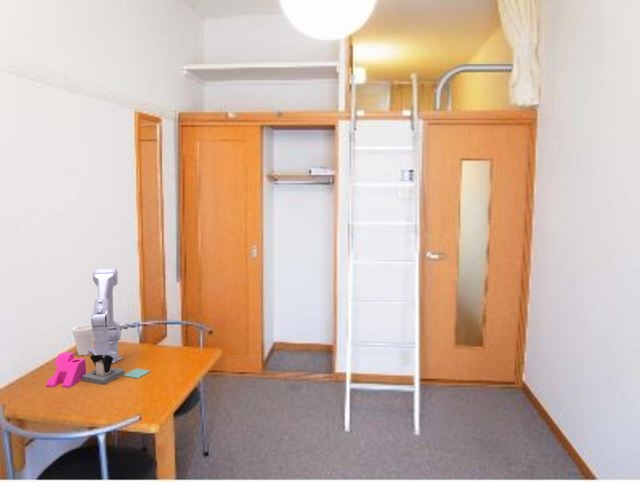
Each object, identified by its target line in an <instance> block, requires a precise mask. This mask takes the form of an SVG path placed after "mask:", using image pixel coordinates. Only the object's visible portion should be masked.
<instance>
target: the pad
mask: <svg viewBox="0 0 640 483" xmlns="http://www.w3.org/2000/svg"><path fill="white" fill-rule="evenodd" d="M150 373H152V372H151V370H148V369H147V370H146V369H141V368H135V369H133V370H130V371H129V372H127V373H125V374H124V375H122V376H123V377H127V378H132V379H137V380H139V379H140V378H143V377H144V376H146V375H148V374H150Z"/></svg>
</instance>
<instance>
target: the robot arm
mask: <svg viewBox="0 0 640 483" xmlns="http://www.w3.org/2000/svg"><path fill="white" fill-rule="evenodd" d="M92 280H93V282H94V285H96V286H97V298H96V299H95V300H94V304H93V306H94V307H93V314H92V315H91V317H90V323H91V324H90V325H92V331H93V332H94V339H93V348H89V349H87V350H88V354H89V355H90V356H89V359H90V360H91V362H92V363H93V365H94V367H95V368H96V363H95V362H98V361H100V360H102V362H103V365H104V371H105V373H107V372H109V371H110V367H112V364H115V363H116V362H119V361H120V360H121V361H122V360H123V359H124V357H122V356H119V341H120V340H121V338H122V337H121V336H122V332H121V331H122V330H121V325H120V323H118V322H116V321H115V320H114V299H113V298H114V295H113V294H114V293H113V291H114V287H115V286H117V285H118V281H119V280H118V269H117V268H115V267H114V268H95V269H93V270H92ZM90 353H91V354H90Z"/></svg>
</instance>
